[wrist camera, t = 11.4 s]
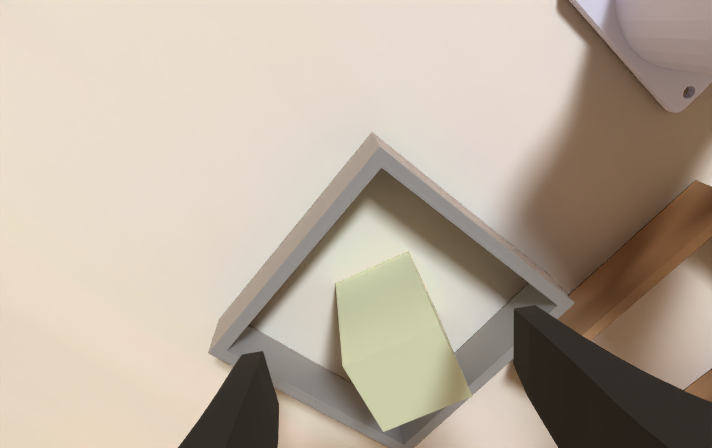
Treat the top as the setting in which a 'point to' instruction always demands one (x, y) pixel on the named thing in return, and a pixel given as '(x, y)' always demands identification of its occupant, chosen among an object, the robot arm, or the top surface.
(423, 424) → the grey bin
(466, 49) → the top surface
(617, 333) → the top surface
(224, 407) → the robot arm
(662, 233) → the walnut bin
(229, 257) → the top surface
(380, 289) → the sage block
